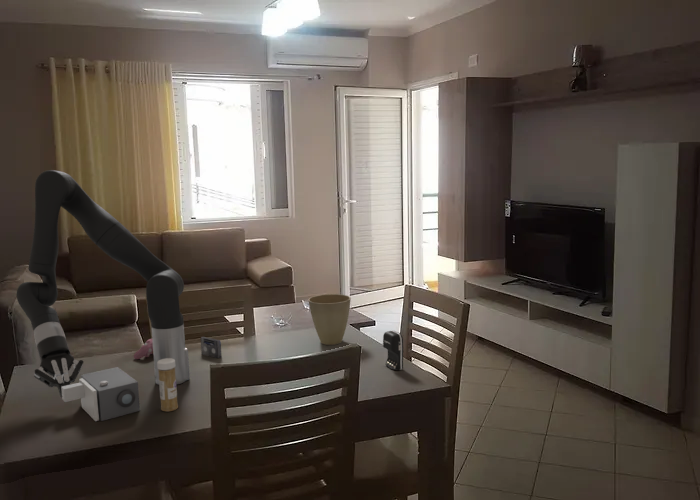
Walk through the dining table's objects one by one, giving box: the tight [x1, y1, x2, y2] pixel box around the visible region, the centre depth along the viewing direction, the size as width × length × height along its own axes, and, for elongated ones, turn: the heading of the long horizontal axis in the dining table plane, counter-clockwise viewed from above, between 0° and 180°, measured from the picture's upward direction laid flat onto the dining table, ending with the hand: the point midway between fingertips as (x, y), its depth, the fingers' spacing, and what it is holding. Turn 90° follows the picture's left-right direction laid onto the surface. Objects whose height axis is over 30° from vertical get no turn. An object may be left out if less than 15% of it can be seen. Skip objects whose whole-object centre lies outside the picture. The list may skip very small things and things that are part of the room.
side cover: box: [61, 377, 100, 422], centre depth 165 cm, size 6×12×8 cm, turn 38°
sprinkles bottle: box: [157, 358, 179, 412], centre depth 168 cm, size 5×5×14 cm
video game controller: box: [133, 338, 154, 360], centre depth 215 cm, size 10×5×7 cm, turn 169°
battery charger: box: [382, 330, 404, 371], centre depth 196 cm, size 7×4×11 cm, turn 27°
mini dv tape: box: [200, 336, 223, 359], centre depth 213 cm, size 8×2×6 cm, turn 54°
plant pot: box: [307, 293, 352, 346], centre depth 224 cm, size 15×15×16 cm
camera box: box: [80, 366, 141, 422], centre depth 170 cm, size 10×17×9 cm, turn 38°
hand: (67, 397), depth 167 cm, fingers closed
